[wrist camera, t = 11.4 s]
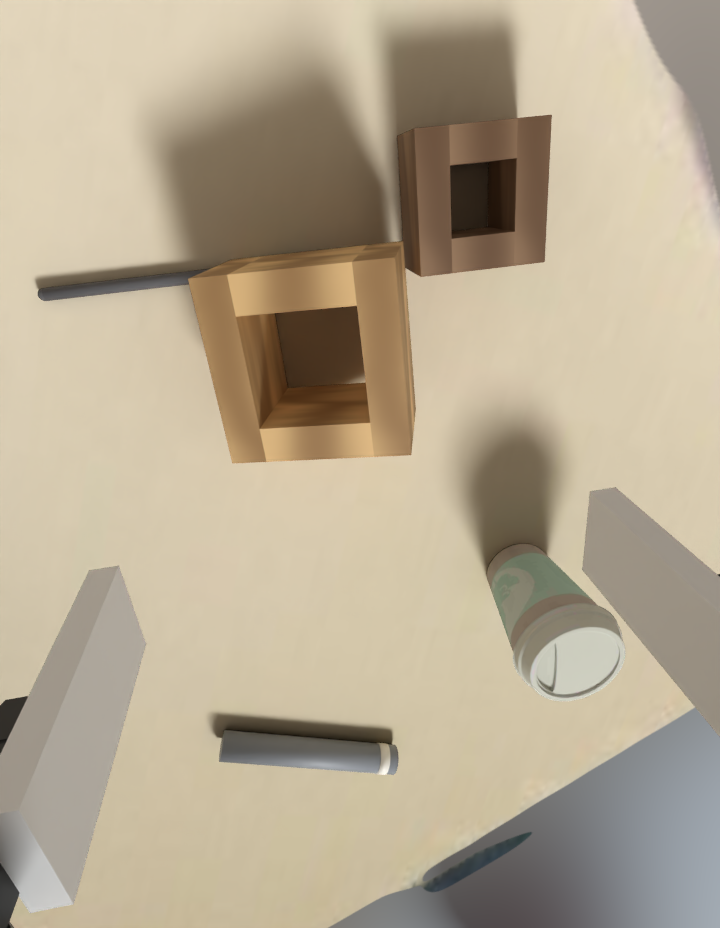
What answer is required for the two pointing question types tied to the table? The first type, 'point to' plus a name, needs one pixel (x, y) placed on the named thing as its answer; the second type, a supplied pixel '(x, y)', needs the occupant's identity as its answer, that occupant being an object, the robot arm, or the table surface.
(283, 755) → the gray tube
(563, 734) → the table surface
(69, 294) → the grey long thin rod
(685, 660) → the robot arm
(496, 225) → the bead dark
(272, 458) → the light wooden square box
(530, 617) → the coffee cup
